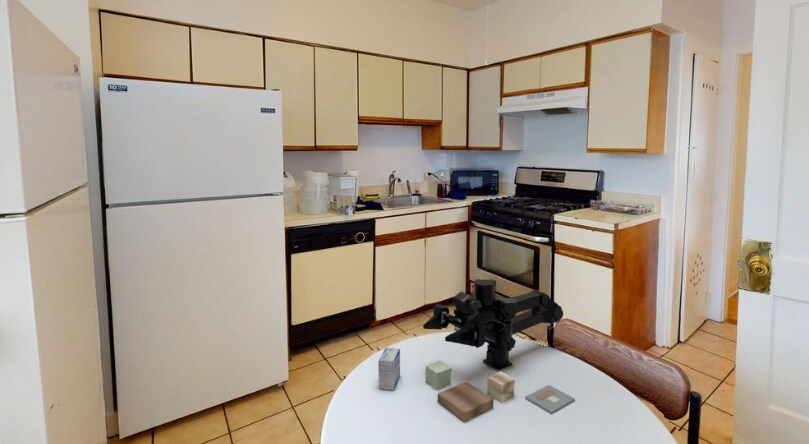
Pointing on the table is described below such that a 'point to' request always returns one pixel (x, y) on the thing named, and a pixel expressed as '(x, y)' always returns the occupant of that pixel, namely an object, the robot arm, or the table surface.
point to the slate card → (550, 399)
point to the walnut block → (465, 401)
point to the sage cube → (438, 375)
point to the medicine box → (389, 368)
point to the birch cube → (500, 386)
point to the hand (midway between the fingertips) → (434, 332)
